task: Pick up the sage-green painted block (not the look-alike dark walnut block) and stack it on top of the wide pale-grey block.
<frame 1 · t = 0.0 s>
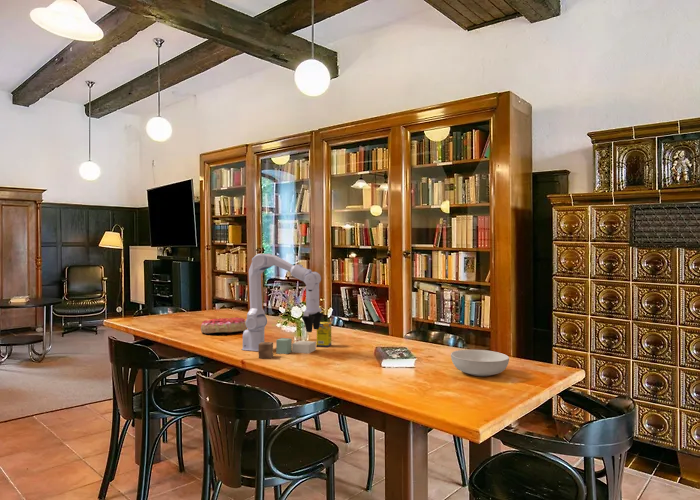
hand: (312, 330, 220), 10 cm above the table, fingers open, 7 cm apart
grey block: (304, 351, 225), on the table
walnut block: (265, 357, 213), on the table
cake: (223, 332, 277), on the table
green block: (284, 352, 222), on the table
supplement box: (324, 346, 237), on the table
serving bowl: (479, 373, 186), on the table
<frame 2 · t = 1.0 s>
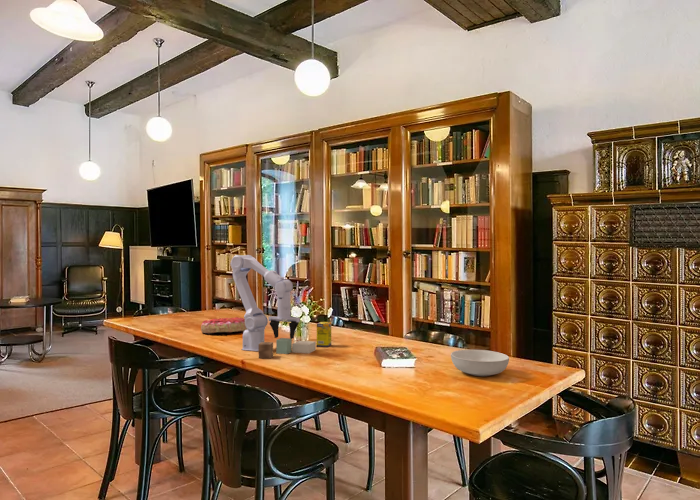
hand: (284, 337, 222), 6 cm above the table, fingers open, 7 cm apart
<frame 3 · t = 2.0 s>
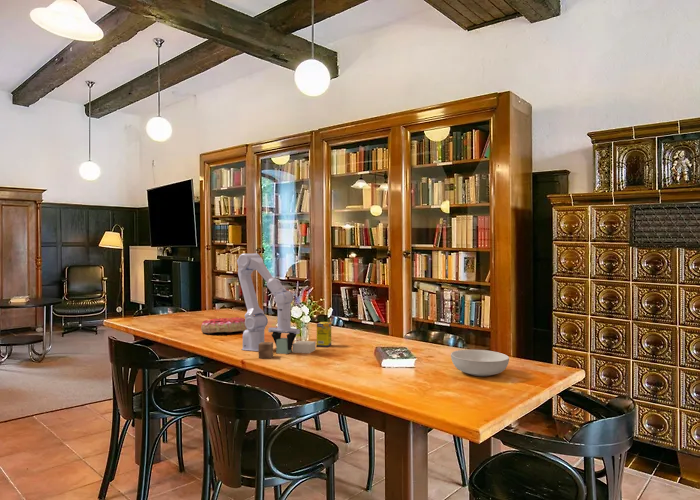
hand: (284, 349, 222), 1 cm above the table, fingers closed on green block, 5 cm apart
green block: (284, 352, 222), on the table, touching gripper
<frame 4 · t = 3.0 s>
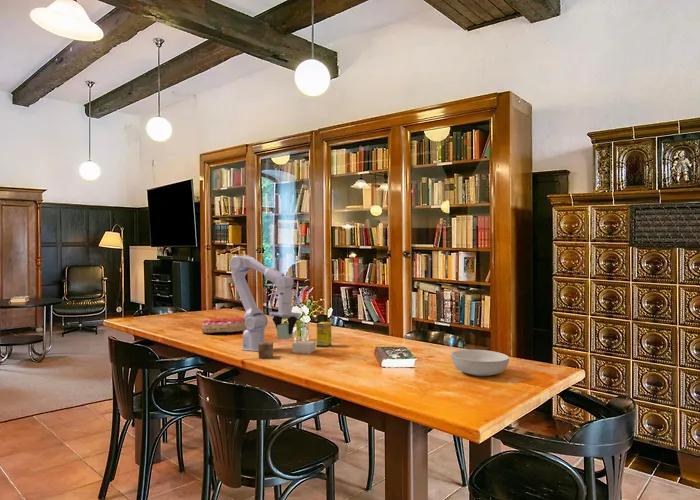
hand: (285, 333, 222), 8 cm above the table, fingers closed on green block, 5 cm apart
green block: (285, 337, 222), point 6 cm above the table, touching gripper
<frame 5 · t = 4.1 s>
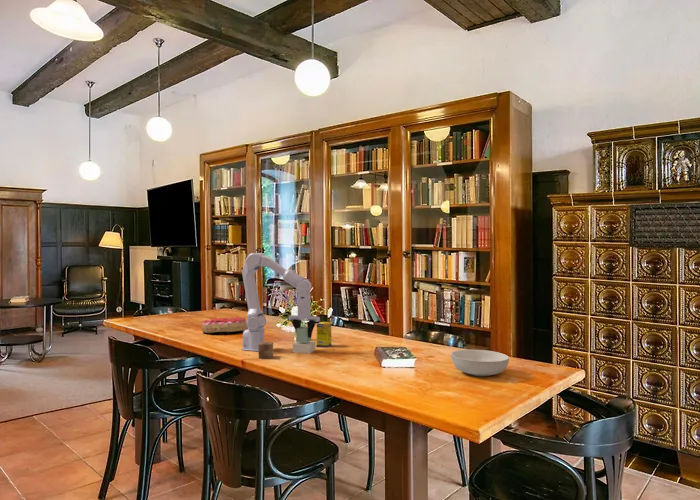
hand: (304, 336, 225), 6 cm above the table, fingers closed on green block, 5 cm apart
green block: (303, 341, 225), point 4 cm above the table, touching gripper
when the fingers open (6 cm above the table, at t = 4.3 s): green block stays where it is, resting on grey block.
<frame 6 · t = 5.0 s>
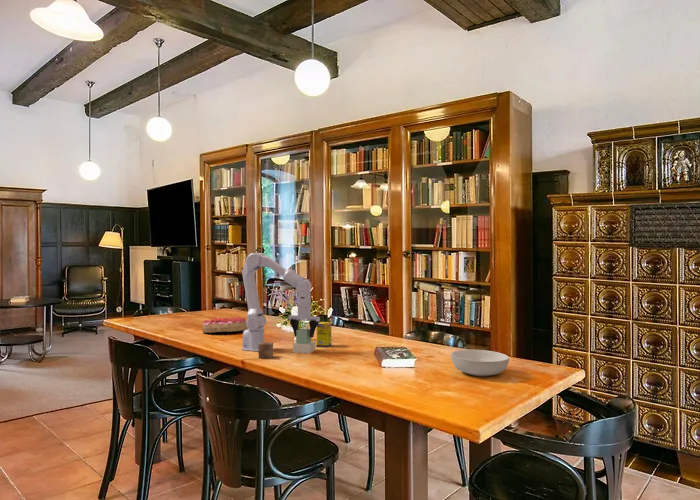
hand: (304, 336, 225), 6 cm above the table, fingers open, 7 cm apart
grey block: (304, 351, 225), on the table, touching green block
green block: (303, 342, 225), point 4 cm above the table, touching grey block
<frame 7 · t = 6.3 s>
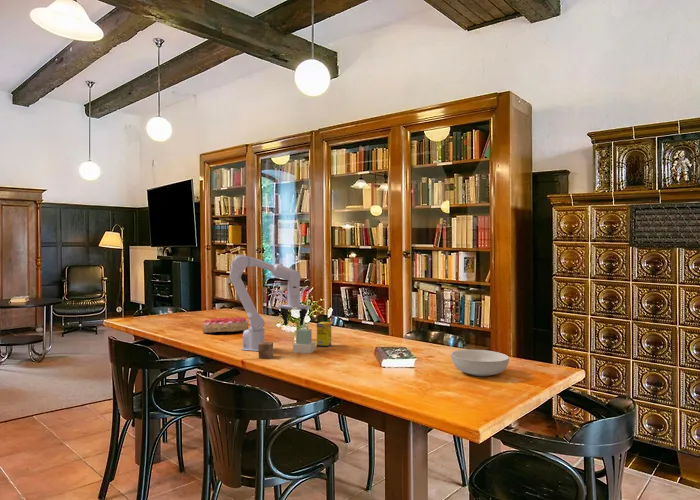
hand: (293, 325, 234), 10 cm above the table, fingers open, 7 cm apart
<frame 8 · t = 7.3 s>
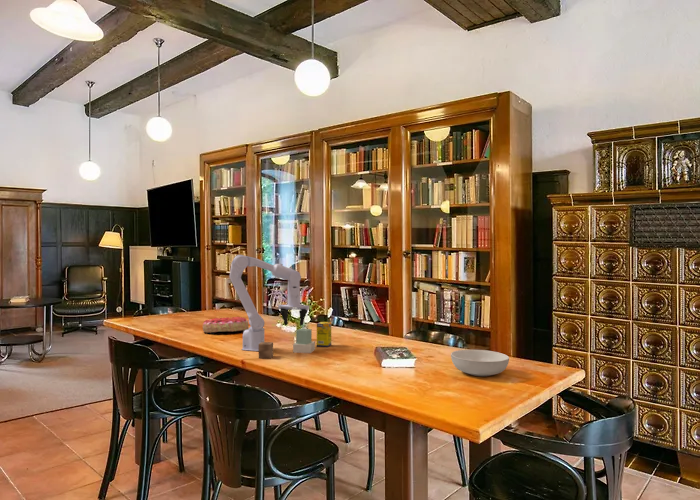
hand: (293, 325, 234), 10 cm above the table, fingers open, 7 cm apart
at the end: green block 0.3 cm off-centre on the grey block, point 4.0 cm above the grey block's base; green block tilted 0°; the gripper is holding nothing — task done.
